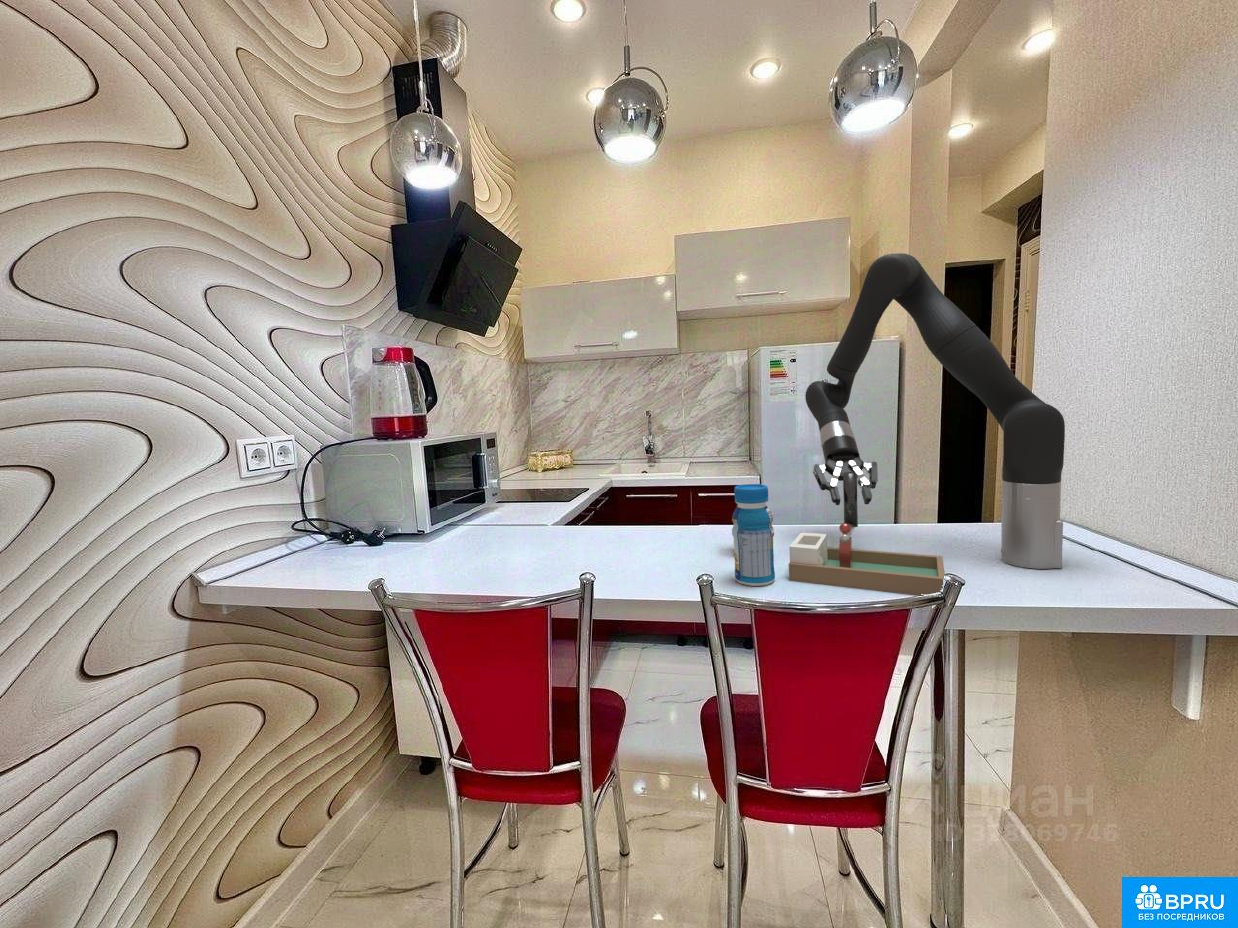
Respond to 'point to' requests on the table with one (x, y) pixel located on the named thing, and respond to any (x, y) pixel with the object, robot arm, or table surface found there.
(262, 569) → the table surface
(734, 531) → the beverage bottle
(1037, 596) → the table surface
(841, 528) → the rod
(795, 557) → the pitch
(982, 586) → the table surface
